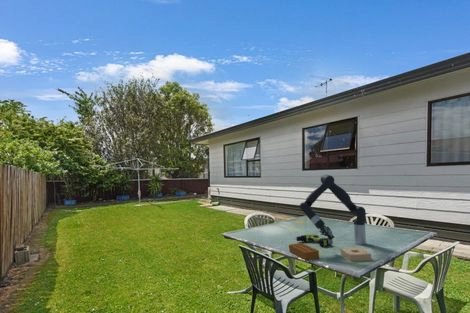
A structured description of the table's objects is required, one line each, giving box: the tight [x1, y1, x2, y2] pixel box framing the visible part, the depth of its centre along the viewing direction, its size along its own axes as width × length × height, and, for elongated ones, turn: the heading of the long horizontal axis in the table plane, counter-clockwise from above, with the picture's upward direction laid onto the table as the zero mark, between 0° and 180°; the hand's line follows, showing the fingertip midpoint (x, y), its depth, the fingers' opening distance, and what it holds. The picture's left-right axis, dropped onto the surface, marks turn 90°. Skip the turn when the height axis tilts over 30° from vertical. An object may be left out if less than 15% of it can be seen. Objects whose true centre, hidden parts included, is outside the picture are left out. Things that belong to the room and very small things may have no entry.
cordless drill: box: [295, 233, 332, 247], centre depth 252 cm, size 7×25×25 cm
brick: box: [288, 242, 320, 261], centre depth 222 cm, size 25×12×6 cm, turn 18°
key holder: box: [340, 247, 372, 262], centre depth 210 cm, size 16×16×4 cm
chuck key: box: [327, 230, 334, 245], centre depth 223 cm, size 4×4×10 cm
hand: (332, 238), depth 222 cm, fingers closed on chuck key, 3 cm apart
